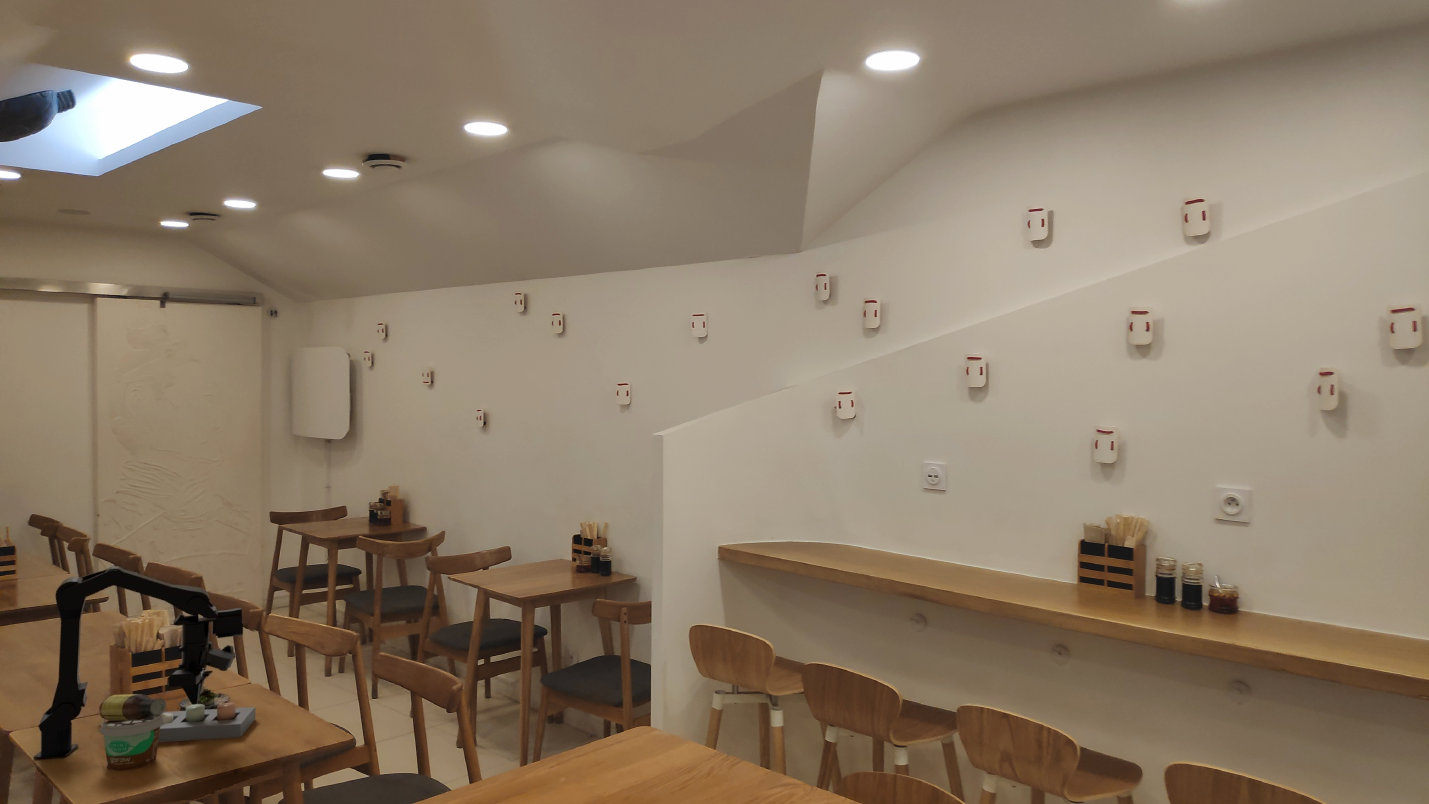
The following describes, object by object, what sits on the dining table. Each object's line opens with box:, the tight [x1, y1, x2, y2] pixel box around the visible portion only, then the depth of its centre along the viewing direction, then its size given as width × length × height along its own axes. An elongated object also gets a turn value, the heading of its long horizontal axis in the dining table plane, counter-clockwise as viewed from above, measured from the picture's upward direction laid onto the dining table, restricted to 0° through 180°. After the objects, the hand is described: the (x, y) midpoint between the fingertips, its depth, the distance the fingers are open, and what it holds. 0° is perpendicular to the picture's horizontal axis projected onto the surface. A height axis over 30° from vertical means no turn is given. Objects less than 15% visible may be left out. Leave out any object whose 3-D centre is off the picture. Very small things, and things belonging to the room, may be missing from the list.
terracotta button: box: [216, 702, 237, 720], centre depth 220 cm, size 4×4×3 cm
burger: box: [178, 683, 231, 711], centre depth 236 cm, size 12×12×8 cm
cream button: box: [154, 713, 173, 723], centre depth 217 cm, size 4×4×3 cm
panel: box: [142, 706, 256, 743], centre depth 218 cm, size 12×24×3 cm, turn 102°
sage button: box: [186, 704, 205, 722], centre depth 218 cm, size 4×4×3 cm
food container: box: [99, 715, 164, 772], centre depth 197 cm, size 12×6×10 cm, turn 105°
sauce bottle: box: [98, 693, 167, 722], centre depth 222 cm, size 7×6×20 cm
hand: (194, 703), depth 218 cm, fingers closed
